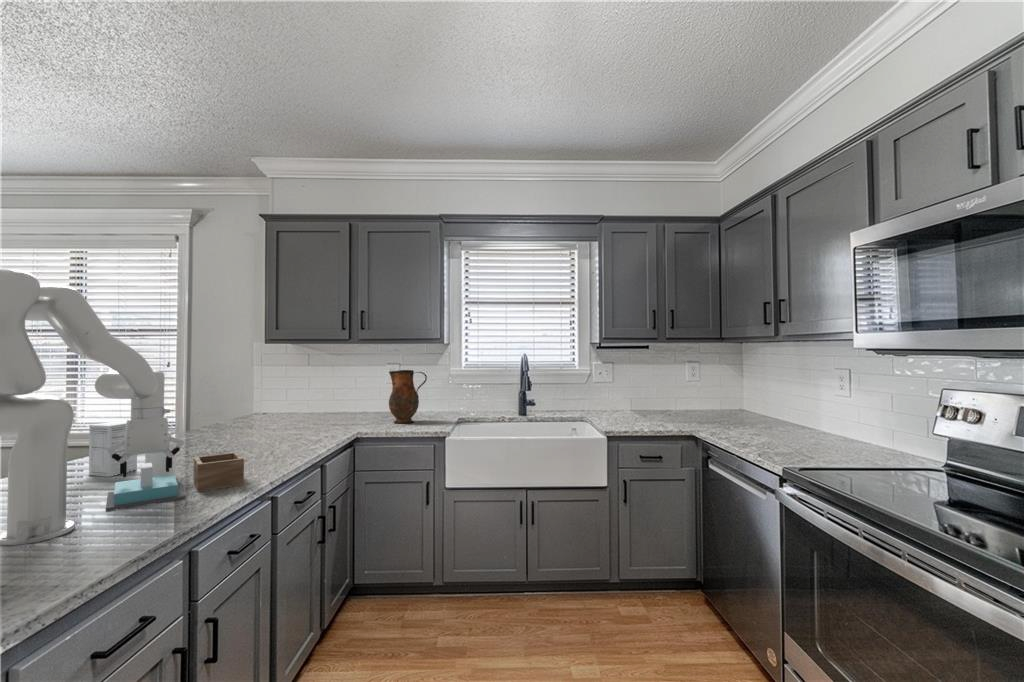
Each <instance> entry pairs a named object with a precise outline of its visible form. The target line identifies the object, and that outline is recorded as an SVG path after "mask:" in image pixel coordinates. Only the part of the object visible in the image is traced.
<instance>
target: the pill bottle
mask: <svg viewBox="0 0 1024 682" xmlns="http://www.w3.org/2000/svg"><path fill="white" fill-rule="evenodd" d="M169 436H171V437H172V432H171V431H169ZM176 445H177V443H174V442H171V441H169V448H168V449H169V450H170V451H172V450H173V449H174V448H175V447H176ZM144 455H145V456H144V458H145V460H144V464H145V463H152V467H153V477H159V476H167V475H175V476H176V464H177V463H176V461H177V459H176V458H177V453H176V454H175V455H174V456H173V457H172V468H169V472H166V457H167V455H166V454H165V453H164V452H160V453H151V454H144Z"/></svg>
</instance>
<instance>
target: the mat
mask: <svg viewBox="0 0 1024 682" xmlns="http://www.w3.org/2000/svg"><path fill="white" fill-rule="evenodd" d="M177 484H178V490H177V496H171V497H165V498H159V499H152V500H146V501H139V502H133V503H127V504H120V505H114V491H108V492H107V499H106V504H105V512H110V511H116V509H118V510H122V508H124V509H129V507H130V508H135V506H136V507H142V506H141V505H143V506H148V504H149V505H155V504H160V503H165V502H172V501H177V500H179V501H180V500H184V499H186V494H185V492H184V490H183V487H182V484H181V482H177ZM154 503H155V504H154Z"/></svg>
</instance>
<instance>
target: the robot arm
mask: <svg viewBox="0 0 1024 682" xmlns="http://www.w3.org/2000/svg"><path fill="white" fill-rule="evenodd" d="M26 321H33V322H35V321H38V322H39V321H42V322H43V321H44V322H45V321H46V322H48V323H49V325H50V326H51V327H52V328H53V330H54V331H55V332H56V333H57V335H58V336H59V337H60V338H61V339H62V341H63V342H64V343H65V345H66V346H67V347H68V349H69V350H70V351H71V352H72V353H73V354H76V355H77V356H80V357H83V358H85V359H88V360H91V361H93V362H96V363H99V364H102V365H104V366H106V367H109V368H110V369H112V370H111V371H106V372H104V373H102V374H101V375H99V376H98V377H97V379H96V380H95V382H94V389H95V391H96V392H97V394H98V395H100V396H102V397H103V398H107V399H118V400H127V399H128V400H130V418H128V419H127V420H126V421H127V423H126V428H125V438H124V440H123V441H121V442H119V443H117V444H115V445H112V446H110V447H108V448H107V451H108V452H109V454H110V455H111V456H112V458H113V459H115V460H116V461H118V462H119V463H120V474H119V475H122V477H123V478H127V475H128V472H127V462H126V460H127V459H128V458H129V457H130V456H131V455H137V456H140V455H145V454H151V453H160V452H164V453H165V454H166V455H167V457H166V472H169V468H172V457H173V456H174V455H175V454H176V455H177V453H179V452H180V450H181V448H182V447H183V445H184V444H185V442H184V440H183V439H180V438H176V437H174V436H172V435H171V436H169V432H170V430H169V428H170V427H169V422H168V418H167V416H165V415H166V414H169V413H171V408H170V407H169V408H168V407H165V373H164V372H163V371H162V370H156V369H155V370H153V369H152V367H151V365H150V364H149V363H148V361H147V360H146V358H144V356H143V355H141V353H139V352H138V351H136V350H135V349H133V348H132V347H131V346H129V345H128V344H127V343H125V342H124V341H122V340H120V339H119V338H117V337H115V336H113V335H112V334H111V333H110V331H109V330H108V329H107V327H106V326H105V325H104V323H103V321H101V319H100V317H99V316H98V315H97V313H96V312H95V311H94V309H93V307H92V306H91V305H90V303H89V302H88V301H87V299H86V298H85V296H84V295H83V293H82V292H80V291H79V290H78V289H76V288H74V287H72V286H67V285H56V284H55V285H53V284H51V285H50V284H49V285H48V284H47V285H42V284H40V281H39V280H38V278H37V277H36V276H35V275H34V274H32V273H30V272H27V271H24V270H20V269H14V268H13V269H12V268H10V269H9V268H6V269H5V268H2V269H0V437H11V438H12V437H13V438H14V437H16V440H15V441H14V442H15V443H14V444H13V446H12V448H11V450H10V451H9V456H8V460H7V461H8V462H7V500H6V501H7V502H6V503H7V505H6V507H7V511H6V512H7V514H6V530H5V531H2V532H1V533H0V545H1V546H21V545H26V544H28V545H29V544H33V543H38V542H43V541H47V540H51V539H54V538H58V537H60V536H63V535H66V534H68V533H69V532H71V531H73V530H74V529H75V528H76V527H75V526H76V523H75V521H73V520H71V519H67V487H68V486H67V482H68V480H67V479H68V449H69V448H68V446H69V438H70V433H71V430H72V426H73V423H74V419H75V418H74V417H75V413H74V409H73V406H72V405H71V404H70V402H68V401H67V400H65V399H63V398H61V397H58V396H56V395H49V394H32V393H36V392H37V391H39V390H40V389H41V388H43V387H44V385H45V384H46V380H47V375H46V374H47V373H46V370H45V368H44V366H43V363H42V362H41V360H40V359H41V358H39V355H38V354H37V352H36V350H35V348H34V345H33V344H32V342H31V340H30V338H29V335H28V332H27V330H26ZM169 441H171V442H174V443H176V447H175V448H174V449H173V450H172V451H170V450H169V449H168V448H169ZM122 446H124V452H125V453H124V454H123V455H122V456H120V455H118V454H117V453H116V451H115V450H116V449H118V448H120V447H122Z"/></svg>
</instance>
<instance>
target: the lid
mask: <svg viewBox="0 0 1024 682" xmlns="http://www.w3.org/2000/svg"><path fill="white" fill-rule="evenodd" d="M177 483H178V482H177V479H176V474H175V475H167V476H159V477H153V467H152V463H145V462H144V463H140V478H138V479H131V480H124V481H115V483H114V491H113V492H114V505H120V504H127V503H133V502H139V501H146V500H152V499H159V498H165V497H171V496H177V490H178V484H177Z"/></svg>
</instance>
